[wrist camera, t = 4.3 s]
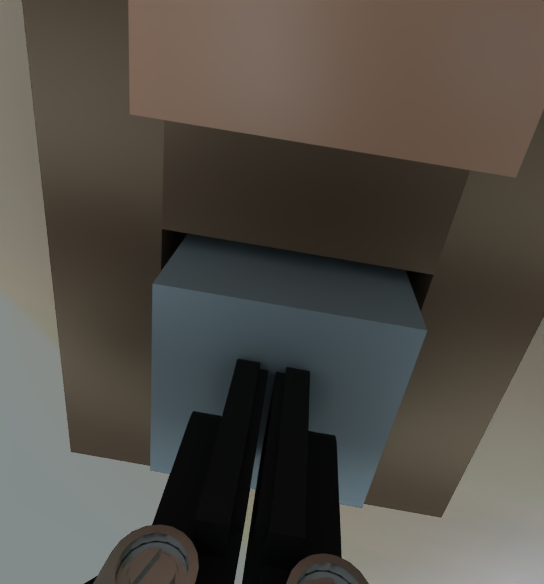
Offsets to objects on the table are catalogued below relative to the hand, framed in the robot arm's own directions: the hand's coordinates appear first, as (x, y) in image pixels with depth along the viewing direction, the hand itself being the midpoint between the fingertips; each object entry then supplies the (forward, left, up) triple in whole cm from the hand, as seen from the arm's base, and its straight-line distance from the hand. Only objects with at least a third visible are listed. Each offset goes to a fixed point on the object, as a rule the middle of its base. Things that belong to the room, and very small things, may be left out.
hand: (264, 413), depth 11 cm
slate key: (0, 0, -5) cm, 5 cm away
